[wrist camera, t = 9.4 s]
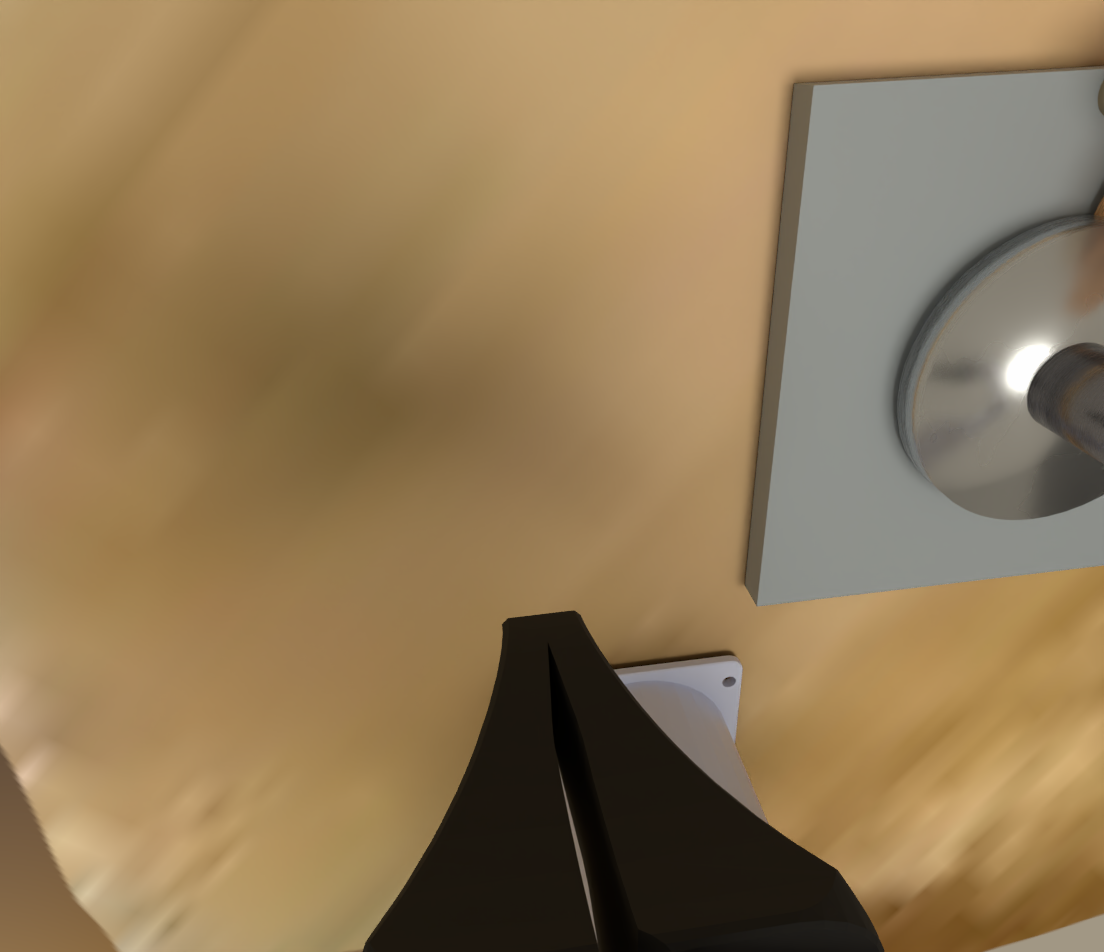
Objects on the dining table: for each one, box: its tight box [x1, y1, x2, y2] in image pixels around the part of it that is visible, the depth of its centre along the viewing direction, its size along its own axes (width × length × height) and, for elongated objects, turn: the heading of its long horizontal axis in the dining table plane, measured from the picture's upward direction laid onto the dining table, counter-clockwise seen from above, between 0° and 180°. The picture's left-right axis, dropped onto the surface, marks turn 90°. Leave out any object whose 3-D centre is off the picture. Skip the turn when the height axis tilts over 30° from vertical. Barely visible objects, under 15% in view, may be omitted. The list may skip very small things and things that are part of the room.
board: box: [745, 66, 1104, 606], centre depth 24 cm, size 16×18×1 cm
